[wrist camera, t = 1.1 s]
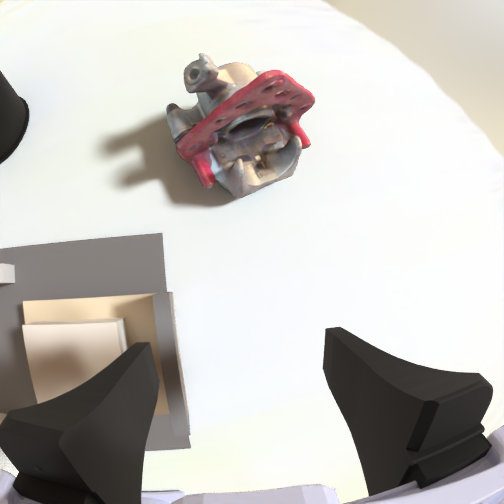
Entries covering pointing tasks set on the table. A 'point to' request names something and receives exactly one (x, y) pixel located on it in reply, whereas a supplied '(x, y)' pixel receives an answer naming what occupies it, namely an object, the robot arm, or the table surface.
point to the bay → (69, 287)
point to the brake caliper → (240, 125)
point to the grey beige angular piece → (104, 345)
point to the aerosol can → (11, 118)
